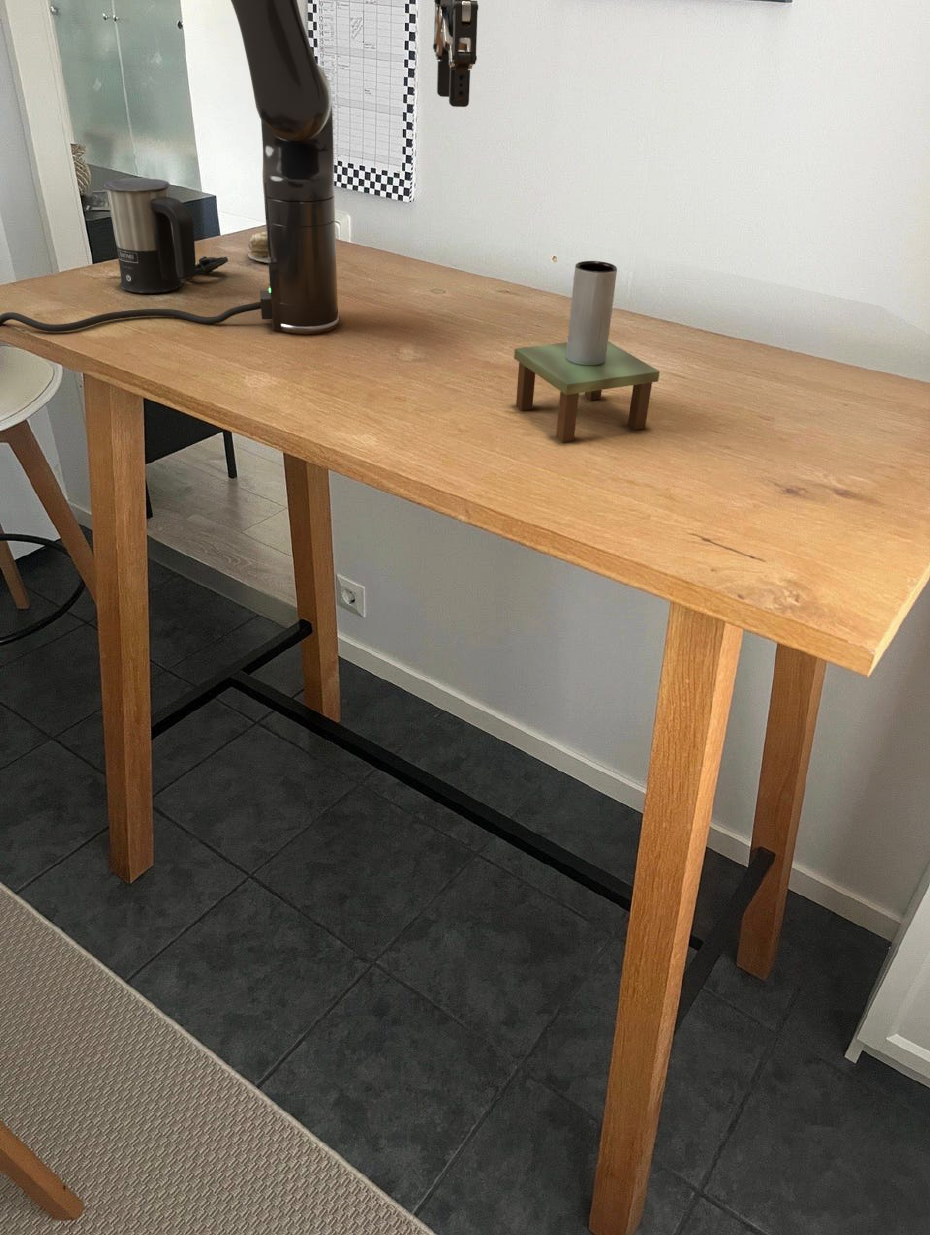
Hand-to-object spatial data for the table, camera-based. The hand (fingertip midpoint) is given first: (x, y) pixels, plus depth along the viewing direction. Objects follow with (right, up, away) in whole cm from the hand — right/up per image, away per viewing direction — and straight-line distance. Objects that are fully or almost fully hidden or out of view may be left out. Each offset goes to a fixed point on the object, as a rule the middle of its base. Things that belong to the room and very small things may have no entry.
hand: (452, 101), depth 116 cm
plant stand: (+15, -37, 0) cm, 40 cm away
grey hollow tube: (+15, -32, -4) cm, 35 cm away
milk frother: (-44, -9, +38) cm, 59 cm away
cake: (-31, 0, +52) cm, 61 cm away
